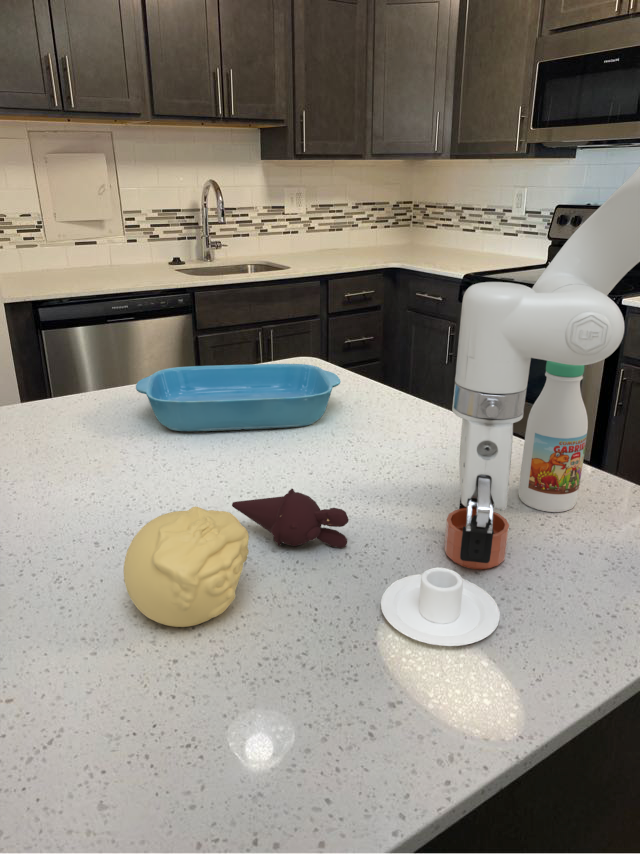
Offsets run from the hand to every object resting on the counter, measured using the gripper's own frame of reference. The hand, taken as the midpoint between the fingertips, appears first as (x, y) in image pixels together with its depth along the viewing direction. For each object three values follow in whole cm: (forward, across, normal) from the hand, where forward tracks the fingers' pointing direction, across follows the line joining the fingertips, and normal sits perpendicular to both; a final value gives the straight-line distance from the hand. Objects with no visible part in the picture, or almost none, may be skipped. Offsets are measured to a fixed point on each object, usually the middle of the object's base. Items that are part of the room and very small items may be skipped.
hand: (472, 538), depth 78 cm
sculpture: (+3, -15, +29) cm, 33 cm away
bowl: (+2, 0, 0) cm, 2 cm away
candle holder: (+3, -12, +4) cm, 13 cm away
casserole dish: (+3, +42, +40) cm, 58 cm away
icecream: (+3, -1, +22) cm, 22 cm away
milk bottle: (+2, +16, -11) cm, 20 cm away
